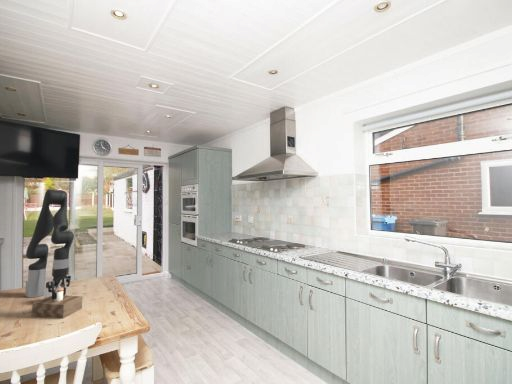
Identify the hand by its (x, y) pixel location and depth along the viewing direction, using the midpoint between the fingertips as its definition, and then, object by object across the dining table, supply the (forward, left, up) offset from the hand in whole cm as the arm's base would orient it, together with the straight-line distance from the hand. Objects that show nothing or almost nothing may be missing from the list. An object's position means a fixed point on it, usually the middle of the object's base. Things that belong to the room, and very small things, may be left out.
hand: (58, 297), depth 153 cm
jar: (-16, +15, -9) cm, 24 cm away
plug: (0, 0, -8) cm, 8 cm away
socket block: (0, 0, -8) cm, 8 cm away
